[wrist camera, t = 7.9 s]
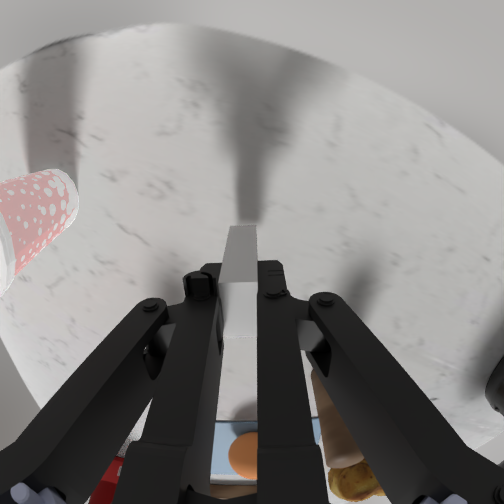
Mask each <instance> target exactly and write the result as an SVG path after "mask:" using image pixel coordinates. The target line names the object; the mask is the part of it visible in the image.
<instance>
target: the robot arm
mask: <svg viewBox="0 0 504 504" xmlns="http://www.w3.org/2000/svg"><path fill="white" fill-rule="evenodd" d="M183 285H184V291H185V296H186V297H185V299H184V302H183V303H180V304H177V305H172V306H167V305H166V302H165V301H164V300H163V299H160V298H148V299H145V300H143V301H141V302H139V303H138V304H137V305H136V306H135V307H134V308H133V309H132V310H131V311H130V312H129V313H128V314H127V315H126V316H125V317H124V318H123V320H122V321H121V322H120V323H119V324H118V325H117V326H116V327H115V328H114V329H113V330H112V331H111V332H110V333H109V334H108V336H107V337H106V338H105V339H104V340H103V341H102V342H101V343H100V344H99V345H98V346H97V347H96V349H95V350H94V351H93V352H92V353H91V354H90V355H89V356H88V357H87V358H86V359H85V361H84V362H83V363H82V364H81V365H80V366H79V367H78V368H77V369H76V371H75V372H74V373H73V374H72V375H71V376H70V377H69V378H68V380H67V381H66V382H65V383H64V384H63V385H62V386H61V388H60V389H59V390H58V391H57V392H56V393H55V394H54V396H53V397H52V398H51V399H50V400H49V401H48V403H47V404H46V405H45V406H44V407H43V408H42V410H41V411H40V412H39V413H38V414H37V416H36V417H35V418H34V419H33V420H32V422H31V423H30V424H29V425H28V426H27V428H26V429H25V430H24V431H23V432H22V434H21V435H20V436H19V437H18V439H17V440H16V441H15V442H14V443H12V444H11V445H9V446H8V447H6V448H5V449H3V450H1V451H0V504H84V503H85V502H86V501H87V500H88V498H89V497H90V496H91V494H92V493H93V491H94V490H95V488H96V487H97V485H98V484H99V482H100V480H101V479H102V477H103V475H104V474H105V472H106V471H107V469H108V467H109V466H110V464H111V463H112V461H113V459H114V458H115V456H116V455H117V453H118V451H119V450H120V448H121V447H122V445H123V443H124V442H125V440H126V439H127V437H128V435H129V434H130V432H131V431H132V429H133V428H134V426H135V424H136V423H137V421H138V420H139V418H140V416H141V415H142V413H143V412H144V410H145V408H146V407H147V405H148V404H149V402H150V400H151V399H152V401H151V405H150V408H149V412H148V415H147V418H146V422H145V425H144V429H143V432H142V436H141V438H140V439H139V440H138V441H132V442H131V443H130V444H129V446H128V448H127V451H126V454H125V458H124V461H123V464H122V468H121V471H120V475H119V479H118V482H117V486H116V490H115V493H114V497H113V501H112V503H110V504H331V503H329V500H328V493H327V486H326V479H325V472H324V465H323V459H322V453H321V449H320V447H319V445H317V444H316V442H315V437H314V431H313V424H312V418H311V411H310V405H309V399H308V392H307V386H306V380H305V374H304V368H303V362H302V357H301V351H300V350H304V351H305V353H306V356H307V358H308V360H309V362H310V363H311V365H312V367H313V369H314V370H315V372H316V374H317V376H318V377H319V379H320V381H321V383H322V384H323V386H324V388H325V390H326V391H327V393H328V395H329V397H330V398H331V400H332V402H333V404H334V405H335V407H336V409H337V411H338V412H339V414H340V416H341V418H342V420H343V421H344V423H345V425H346V427H347V428H348V430H349V432H350V434H351V435H352V437H353V439H354V441H355V442H356V444H357V446H358V447H359V449H360V451H361V453H362V454H363V456H364V458H365V460H366V461H367V463H368V465H369V467H370V468H371V470H372V472H373V474H374V475H375V477H376V479H377V481H378V482H379V484H380V486H381V488H382V489H383V491H384V493H385V495H386V496H387V498H388V499H389V500H390V502H391V503H392V504H504V461H502V462H501V463H500V464H498V465H496V464H495V463H493V462H491V461H490V460H488V459H487V458H485V457H483V456H482V455H480V454H478V453H477V452H475V451H474V450H472V449H471V448H469V447H467V446H466V444H465V443H464V442H463V441H462V439H461V438H460V437H459V435H458V434H457V433H456V432H455V430H454V429H453V428H452V427H451V425H450V424H449V423H448V422H447V420H446V419H445V418H444V417H443V416H442V414H441V413H440V412H439V411H438V409H437V408H436V407H435V406H434V405H433V403H432V402H431V401H430V400H429V398H428V397H427V396H426V395H425V394H424V392H423V391H422V390H421V389H420V388H419V386H418V385H417V384H416V383H415V382H414V381H413V379H412V378H411V377H410V376H409V375H408V373H407V372H406V371H405V370H404V369H403V368H402V366H401V365H400V364H399V363H398V362H397V361H396V359H395V358H394V357H393V356H392V355H391V354H390V352H389V351H388V350H387V349H386V348H385V347H384V345H383V344H382V343H381V342H380V341H379V340H378V339H377V337H376V336H375V335H374V334H373V333H372V332H371V331H370V329H369V328H368V327H367V326H366V325H365V324H364V323H363V322H362V320H361V319H360V318H359V317H358V316H357V315H356V314H355V313H354V311H353V310H352V309H351V308H350V307H349V306H348V305H347V304H346V302H345V301H344V300H343V299H342V298H341V297H340V296H338V295H336V294H334V293H331V292H319V293H316V294H313V295H312V296H311V297H310V299H309V301H304V300H299V299H296V298H294V297H292V296H291V295H290V292H289V291H288V290H287V286H286V281H285V275H284V270H283V265H282V264H281V263H280V262H279V261H278V260H267V261H258V258H257V233H256V225H244V226H230V229H229V233H228V238H227V243H226V247H225V252H224V257H223V262H222V263H206V264H205V265H204V266H203V267H201V269H200V271H194V272H191V273H188V274H187V275H185V276H184V277H183ZM223 331H224V338H253V337H257V416H258V448H257V493H253V494H249V495H244V496H239V497H234V498H229V499H218V498H215V497H211V494H210V474H211V464H212V453H213V443H214V433H215V423H216V414H217V404H218V395H219V386H220V376H221V367H222V358H223V350H224V343H223ZM145 347H146V349H145ZM144 349H145V350H144ZM485 396H486V398H487V400H488V402H489V403H490V405H491V407H492V408H493V409H494V410H495V411H497V412H500V413H501V414H502V415H503V416H504V358H503V359H502V360H501V362H500V363H499V365H498V366H497V368H496V369H495V371H494V372H493V374H492V376H491V378H490V380H489V382H488V384H487V387H486V391H485ZM152 397H153V398H152Z"/></svg>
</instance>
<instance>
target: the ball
mask: <svg viewBox="0 0 504 504" xmlns="http://www.w3.org/2000/svg"><path fill="white" fill-rule="evenodd" d="M257 448H258V432H248V433H245V434H243V435H241V436H239V437H238V438H236V439H235V440H234V441H233V443H232V444H231V446H230V448H229V452H228V459H229V463H230V465H231V467H232V469H233V470H234V471H235V472H236V473H237V474H239V475H240V476H242V477H244V478H247V479H257Z"/></svg>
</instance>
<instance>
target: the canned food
mask: <svg viewBox="0 0 504 504" xmlns="http://www.w3.org/2000/svg"><path fill="white" fill-rule="evenodd" d="M123 461H124V458H122V457H117V456H115V458H114V459H113V461H112V463H111V464H110V466H109V467H108V469H107V471H106V472H105V474H104V475H103V477H102V479H101V480H100V482H99V484H98V485H97V487H96V488H95V490H94V491H93V493H92V494H91V497H90V500H89V503H88V504H110V503H112V501H113V497H114V493H115V490H116V486H117V482H118V479H119V475H120V471H121V468H122V464H123Z"/></svg>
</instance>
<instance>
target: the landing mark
mask: <svg viewBox="0 0 504 504" xmlns="http://www.w3.org/2000/svg"><path fill="white" fill-rule="evenodd" d="M312 424H313V431H314V437H315V442H316V444H317V445H318V442H319V439H320V434H321V429H320V423H319V418H312ZM248 432H258V422H216V423H215V433H214V443H213V453H212V464H211V474H228V475H239V474H237V473H236V472H235V471H234V470H233V469H232V467H231V465H230V463H229V459H228V452H229V448H230V446H231V444H232V443H233V441H234V440H235V439H236V438H238V437H239V436H241V435H243V434H245V433H248Z"/></svg>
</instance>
